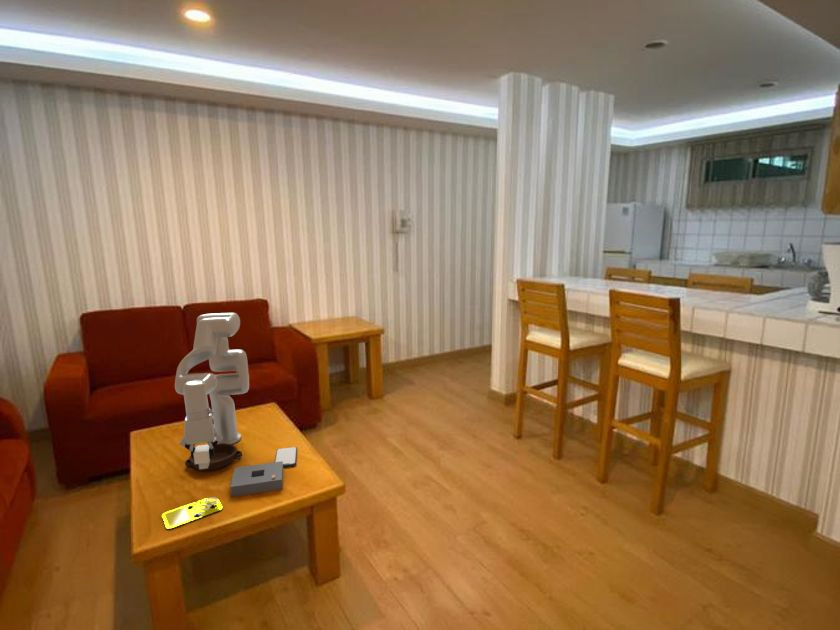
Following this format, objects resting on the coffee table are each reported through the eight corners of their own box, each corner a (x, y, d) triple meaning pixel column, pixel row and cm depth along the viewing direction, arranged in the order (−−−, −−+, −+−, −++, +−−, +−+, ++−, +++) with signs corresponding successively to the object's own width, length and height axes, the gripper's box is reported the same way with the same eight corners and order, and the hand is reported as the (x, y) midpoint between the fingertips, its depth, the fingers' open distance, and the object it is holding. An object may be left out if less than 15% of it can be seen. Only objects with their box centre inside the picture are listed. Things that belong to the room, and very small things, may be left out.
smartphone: (276, 452, 202) (273, 470, 187) (276, 448, 202) (273, 466, 187) (297, 449, 204) (296, 467, 189) (297, 446, 204) (296, 463, 189)
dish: (243, 468, 188) (242, 456, 187) (183, 479, 180) (182, 468, 179) (242, 449, 204) (241, 438, 203) (187, 459, 196) (185, 448, 195)
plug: (198, 463, 175) (196, 445, 174) (212, 461, 177) (210, 444, 175) (195, 471, 170) (193, 453, 168) (210, 469, 171) (208, 451, 170)
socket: (235, 476, 181) (234, 466, 181) (283, 470, 186) (282, 459, 185) (231, 496, 168) (230, 485, 167) (282, 489, 173) (281, 478, 172)
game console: (167, 533, 150) (167, 529, 149) (160, 516, 158) (160, 513, 158) (224, 511, 161) (224, 507, 160) (215, 497, 169) (215, 493, 169)
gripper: (224, 406, 174) (229, 450, 178) (174, 411, 170) (180, 456, 174) (221, 415, 167) (226, 460, 171) (169, 420, 163) (176, 466, 167)
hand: (203, 457), depth 172 cm, fingers closed on plug, 5 cm apart
